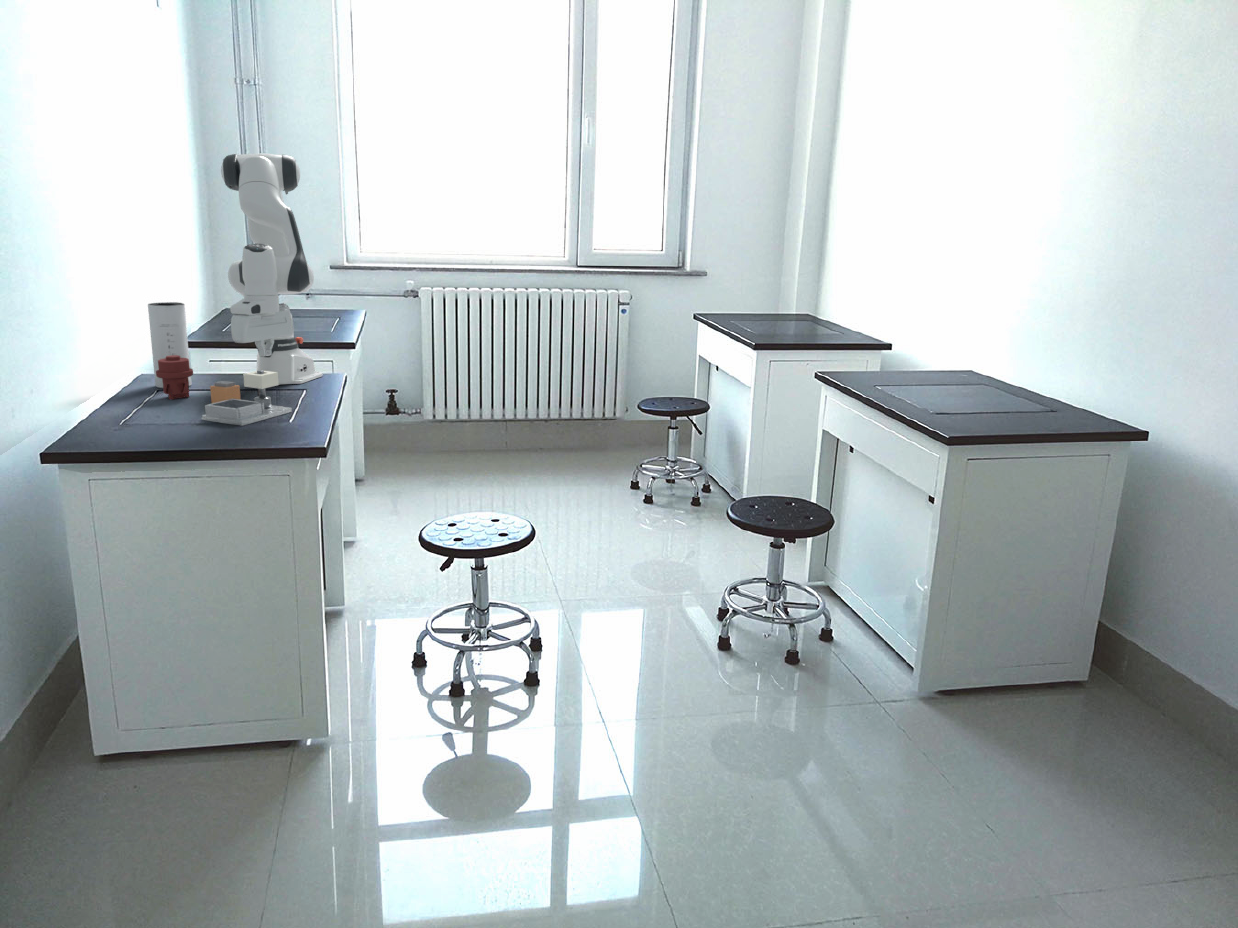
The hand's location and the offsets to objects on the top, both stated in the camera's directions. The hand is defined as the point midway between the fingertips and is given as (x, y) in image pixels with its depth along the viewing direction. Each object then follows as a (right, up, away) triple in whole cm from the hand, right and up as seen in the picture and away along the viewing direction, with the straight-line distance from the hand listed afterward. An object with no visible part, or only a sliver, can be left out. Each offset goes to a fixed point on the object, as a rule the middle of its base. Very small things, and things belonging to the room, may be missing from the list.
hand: (265, 355), depth 267 cm
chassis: (-5, -17, 0) cm, 17 cm away
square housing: (-2, -8, +3) cm, 9 cm away
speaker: (-42, -6, +37) cm, 56 cm away
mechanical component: (-34, -10, +21) cm, 41 cm away
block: (-15, -13, +11) cm, 23 cm away
